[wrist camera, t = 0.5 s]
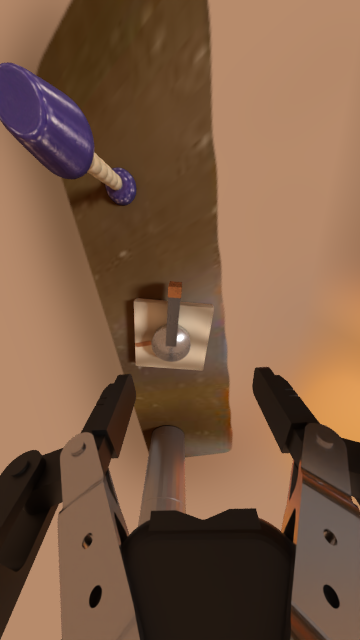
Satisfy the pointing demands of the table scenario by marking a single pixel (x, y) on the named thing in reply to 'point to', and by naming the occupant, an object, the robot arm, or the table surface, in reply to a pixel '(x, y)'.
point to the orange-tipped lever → (172, 330)
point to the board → (155, 315)
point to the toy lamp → (56, 131)
